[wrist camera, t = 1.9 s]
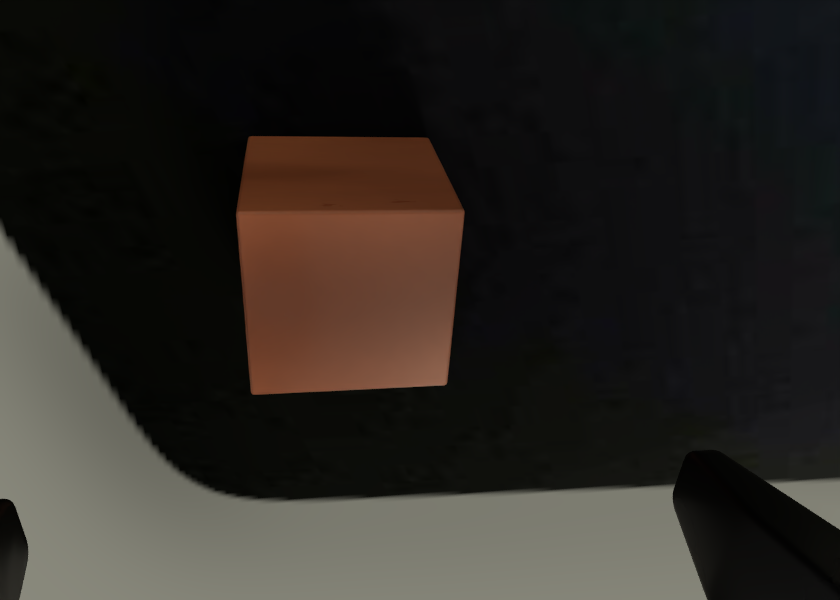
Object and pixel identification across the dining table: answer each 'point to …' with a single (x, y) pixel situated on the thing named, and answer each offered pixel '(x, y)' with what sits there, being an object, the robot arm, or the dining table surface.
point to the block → (347, 263)
